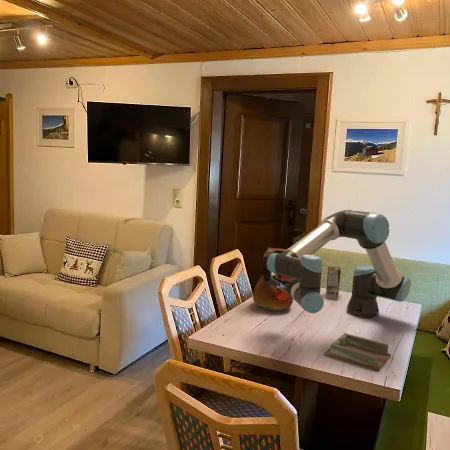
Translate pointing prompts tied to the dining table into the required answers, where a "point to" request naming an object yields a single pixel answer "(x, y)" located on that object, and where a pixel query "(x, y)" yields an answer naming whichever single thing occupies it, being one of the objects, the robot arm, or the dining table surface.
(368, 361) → the bay
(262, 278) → the ceramic pitcher
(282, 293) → the paper cup
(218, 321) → the dining table surface
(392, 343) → the dining table surface
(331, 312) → the dining table surface
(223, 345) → the dining table surface
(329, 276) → the coffee box
